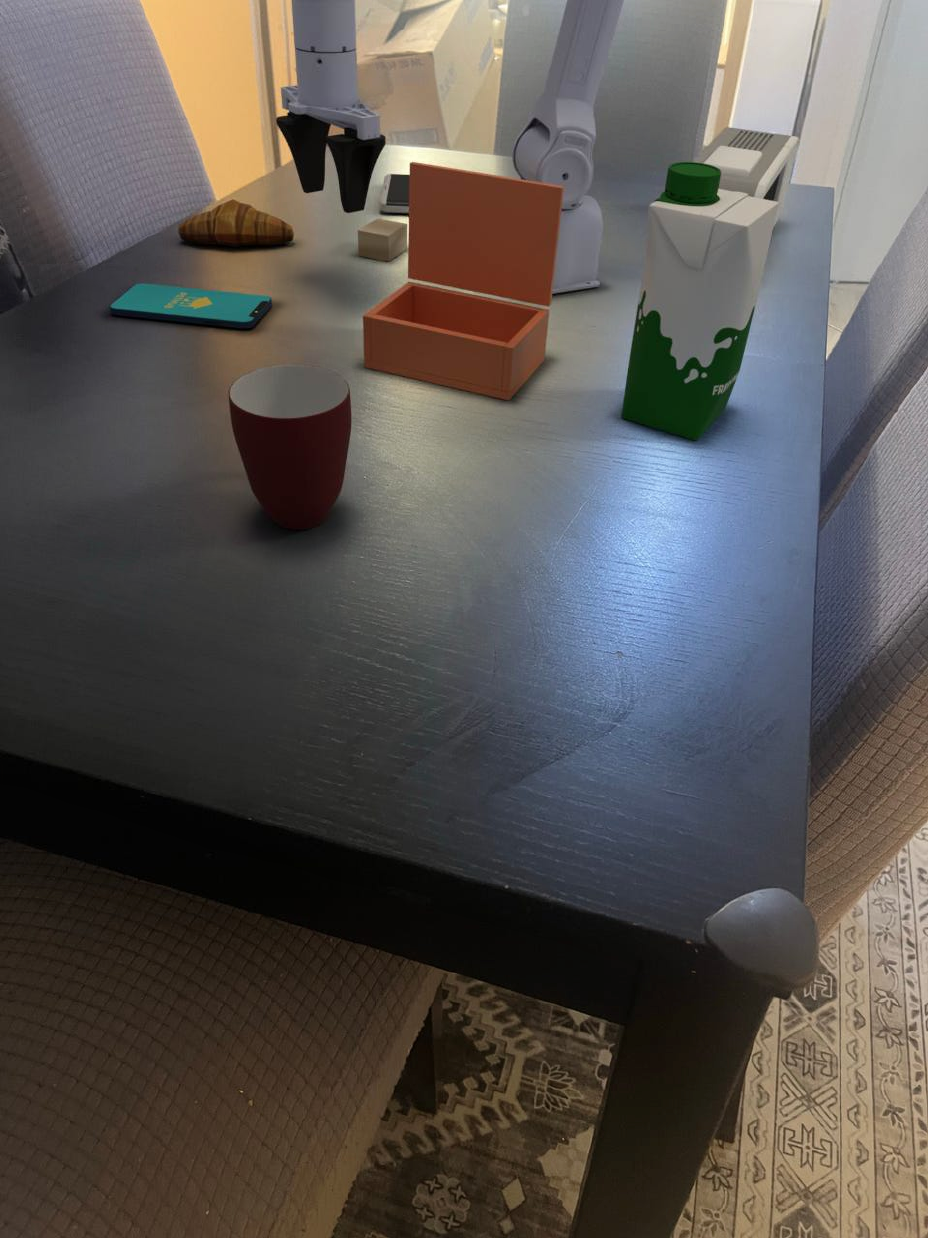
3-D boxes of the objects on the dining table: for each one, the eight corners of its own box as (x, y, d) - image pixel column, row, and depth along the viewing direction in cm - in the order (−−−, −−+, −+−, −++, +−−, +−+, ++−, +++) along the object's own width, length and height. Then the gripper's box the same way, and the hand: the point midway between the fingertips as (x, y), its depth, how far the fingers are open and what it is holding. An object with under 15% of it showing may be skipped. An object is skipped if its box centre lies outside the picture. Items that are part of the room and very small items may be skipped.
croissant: (296, 234, 117) (293, 191, 114) (292, 253, 112) (289, 209, 108) (184, 232, 116) (178, 189, 112) (175, 251, 111) (168, 206, 107)
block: (388, 261, 111) (388, 235, 109) (358, 255, 112) (357, 229, 110) (407, 249, 114) (407, 223, 112) (377, 243, 115) (377, 217, 114)
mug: (251, 469, 74) (237, 348, 68) (355, 468, 75) (350, 348, 69) (238, 548, 66) (221, 419, 60) (355, 546, 67) (349, 418, 61)
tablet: (585, 223, 124) (587, 209, 123) (378, 215, 124) (378, 201, 123) (575, 193, 135) (577, 179, 134) (385, 185, 134) (384, 172, 133)
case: (508, 400, 85) (512, 347, 82) (364, 367, 89) (362, 315, 86) (544, 359, 92) (549, 309, 89) (408, 330, 96) (408, 280, 93)
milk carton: (646, 382, 89) (687, 151, 76) (739, 410, 86) (798, 172, 73) (606, 419, 83) (643, 175, 70) (704, 449, 80) (761, 199, 67)
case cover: (562, 187, 82) (564, 185, 82) (409, 162, 86) (412, 161, 86) (549, 306, 88) (551, 304, 89) (407, 278, 92) (410, 276, 93)
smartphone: (137, 280, 101) (273, 294, 99) (138, 288, 101) (274, 302, 100) (106, 307, 95) (250, 322, 94) (108, 315, 96) (251, 330, 94)
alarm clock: (741, 290, 108) (766, 179, 101) (661, 275, 111) (680, 166, 103) (779, 223, 128) (802, 125, 120) (710, 211, 130) (729, 116, 123)
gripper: (248, 38, 91) (262, 188, 99) (331, 65, 82) (339, 227, 91) (312, 32, 94) (320, 178, 103) (397, 58, 86) (399, 214, 95)
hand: (333, 200), depth 97 cm, fingers open, 7 cm apart
